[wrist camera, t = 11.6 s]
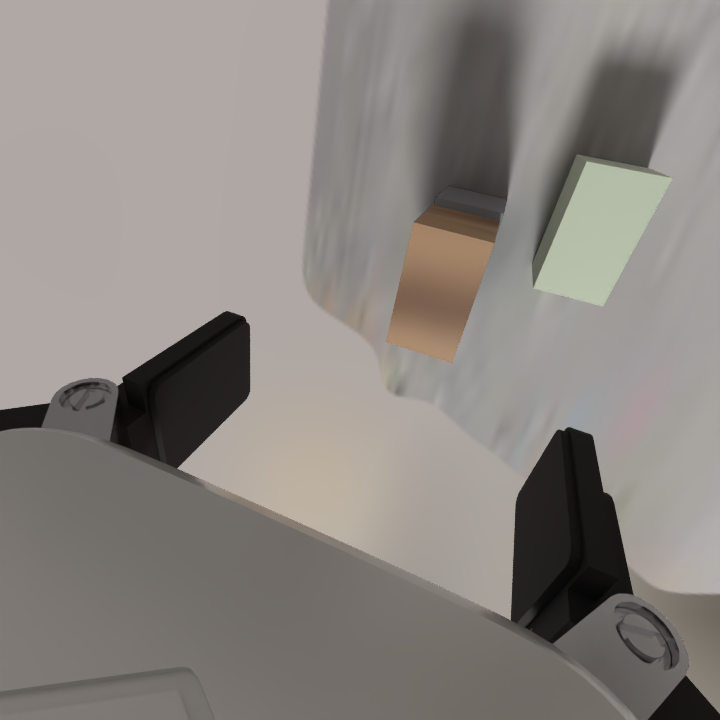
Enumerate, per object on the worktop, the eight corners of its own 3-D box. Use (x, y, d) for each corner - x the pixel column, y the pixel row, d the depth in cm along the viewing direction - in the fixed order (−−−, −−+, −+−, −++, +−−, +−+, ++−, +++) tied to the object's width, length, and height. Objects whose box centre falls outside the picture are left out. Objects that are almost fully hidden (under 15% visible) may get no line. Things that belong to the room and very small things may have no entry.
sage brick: (576, 154, 24) (586, 161, 20) (647, 167, 23) (672, 178, 19) (532, 263, 28) (533, 288, 24) (591, 278, 27) (602, 306, 23)
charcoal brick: (448, 185, 27) (435, 197, 23) (507, 199, 27) (503, 213, 23) (423, 280, 31) (408, 303, 27) (474, 294, 31) (466, 321, 27)
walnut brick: (432, 204, 24) (413, 222, 20) (499, 221, 23) (494, 243, 19) (406, 309, 28) (385, 341, 24) (462, 326, 27) (452, 363, 23)
